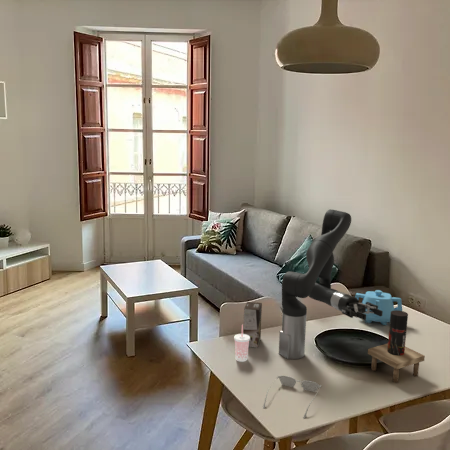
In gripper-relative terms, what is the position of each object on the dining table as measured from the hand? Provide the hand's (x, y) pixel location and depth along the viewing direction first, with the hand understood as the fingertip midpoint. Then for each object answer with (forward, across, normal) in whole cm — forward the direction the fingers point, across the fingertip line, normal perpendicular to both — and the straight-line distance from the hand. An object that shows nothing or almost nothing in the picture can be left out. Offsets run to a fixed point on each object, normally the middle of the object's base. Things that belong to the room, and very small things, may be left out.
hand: (373, 315), depth 202 cm
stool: (+12, 0, +18) cm, 22 cm away
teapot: (-28, +32, +18) cm, 46 cm away
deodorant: (+12, 0, +10) cm, 16 cm away
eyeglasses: (+10, -46, +19) cm, 50 cm away
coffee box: (-35, -32, +18) cm, 51 cm away
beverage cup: (-24, -44, +18) cm, 53 cm away
